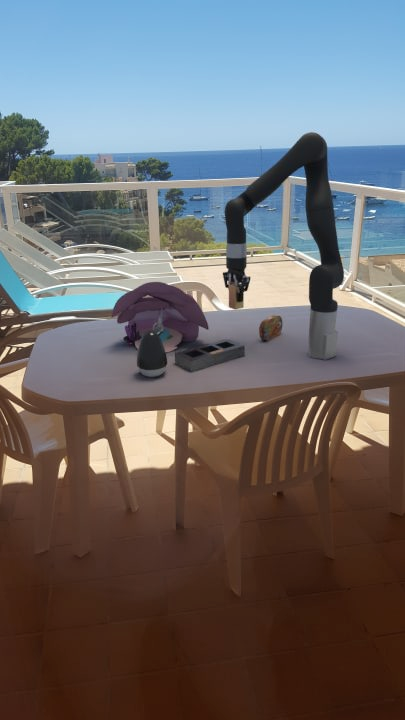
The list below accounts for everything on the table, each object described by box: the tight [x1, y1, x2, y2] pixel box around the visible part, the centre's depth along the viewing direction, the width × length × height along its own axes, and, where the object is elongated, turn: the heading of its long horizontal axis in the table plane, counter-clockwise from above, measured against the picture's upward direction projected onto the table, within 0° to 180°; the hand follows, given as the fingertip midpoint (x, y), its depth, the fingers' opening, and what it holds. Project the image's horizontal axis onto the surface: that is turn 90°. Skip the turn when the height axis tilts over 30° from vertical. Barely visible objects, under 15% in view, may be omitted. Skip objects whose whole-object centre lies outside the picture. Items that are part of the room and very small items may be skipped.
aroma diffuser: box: [136, 330, 168, 378], centre depth 164 cm, size 10×10×15 cm
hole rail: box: [174, 338, 246, 373], centre depth 177 cm, size 24×10×4 cm, turn 127°
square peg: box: [228, 283, 245, 310], centre depth 187 cm, size 4×4×9 cm
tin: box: [258, 314, 283, 342], centre depth 199 cm, size 15×3×8 cm, turn 143°
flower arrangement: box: [111, 281, 209, 353], centre depth 189 cm, size 35×24×28 cm
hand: (236, 300), depth 188 cm, fingers closed on square peg, 4 cm apart
